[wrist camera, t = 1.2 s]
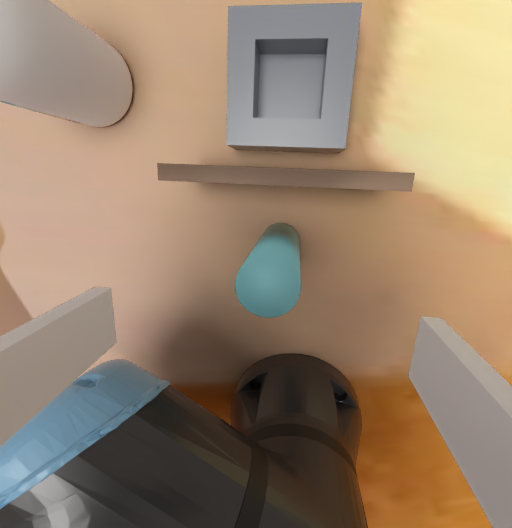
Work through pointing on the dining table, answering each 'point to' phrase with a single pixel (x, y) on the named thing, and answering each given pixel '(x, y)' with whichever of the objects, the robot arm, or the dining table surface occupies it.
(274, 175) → the wooden cutting board
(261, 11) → the socket block
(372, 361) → the dining table surface
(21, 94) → the milk bottle
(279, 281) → the peg
